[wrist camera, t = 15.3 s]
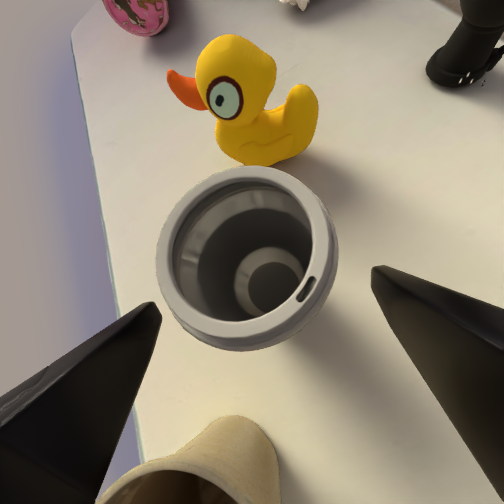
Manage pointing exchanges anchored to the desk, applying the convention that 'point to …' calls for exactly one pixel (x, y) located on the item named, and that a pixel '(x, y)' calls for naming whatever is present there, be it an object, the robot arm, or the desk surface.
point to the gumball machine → (470, 45)
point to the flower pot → (207, 470)
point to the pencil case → (139, 15)
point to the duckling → (247, 102)
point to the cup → (247, 258)
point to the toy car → (302, 3)
